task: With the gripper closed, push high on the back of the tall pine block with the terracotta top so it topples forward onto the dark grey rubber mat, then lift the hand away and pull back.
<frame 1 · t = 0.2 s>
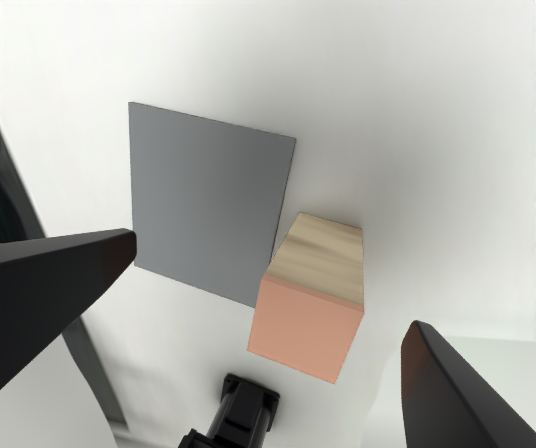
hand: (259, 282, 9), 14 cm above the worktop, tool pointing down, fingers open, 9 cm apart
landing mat: (201, 212, 25), on the worktop
pine block: (321, 247, 23), on the worktop
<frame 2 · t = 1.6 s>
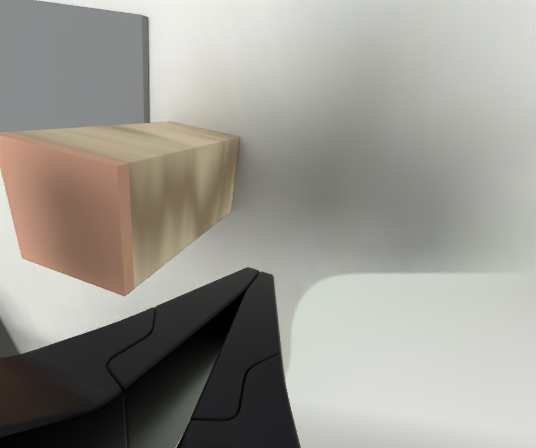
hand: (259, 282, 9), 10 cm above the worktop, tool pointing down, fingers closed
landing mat: (68, 134, 21), on the worktop
pine block: (201, 167, 19), on the worktop
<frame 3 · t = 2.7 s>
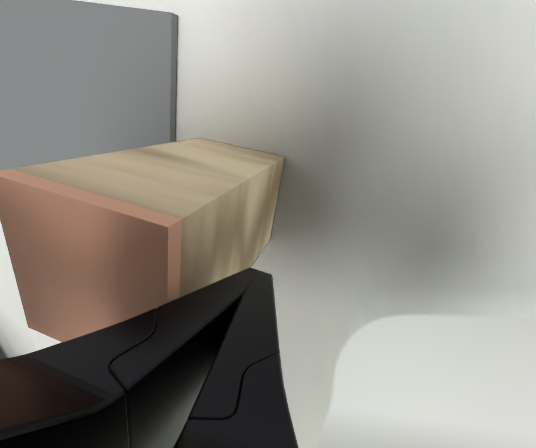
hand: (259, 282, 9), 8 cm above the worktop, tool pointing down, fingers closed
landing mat: (79, 151, 18), on the worktop
pine block: (235, 190, 16), on the worktop, touching gripper
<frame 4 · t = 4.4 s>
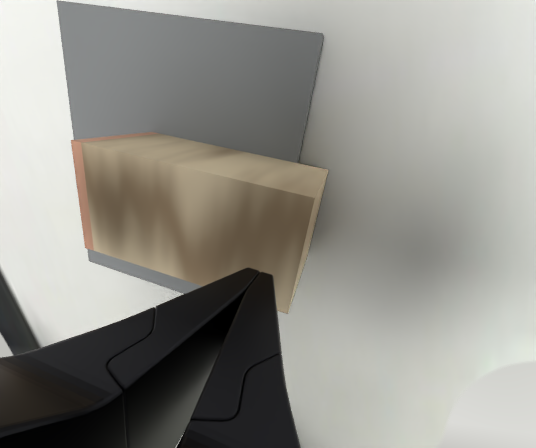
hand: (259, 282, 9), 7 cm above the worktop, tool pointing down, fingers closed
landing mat: (177, 177, 17), on the worktop
pine block: (310, 235, 13), point 3 cm above the worktop, tilted 90°, touching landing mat
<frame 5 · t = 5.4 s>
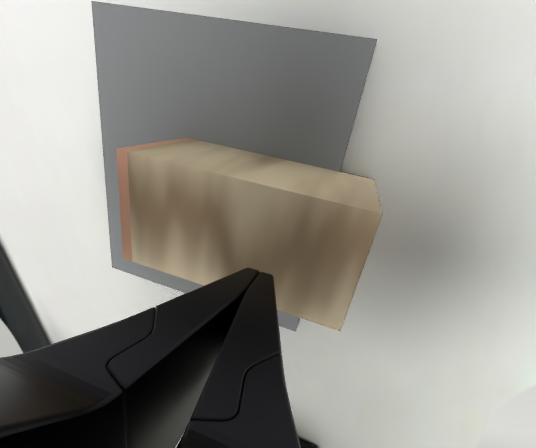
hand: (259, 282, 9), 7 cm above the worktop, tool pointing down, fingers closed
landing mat: (210, 184, 16), on the worktop
pine block: (358, 247, 12), point 3 cm above the worktop, tilted 90°, touching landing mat
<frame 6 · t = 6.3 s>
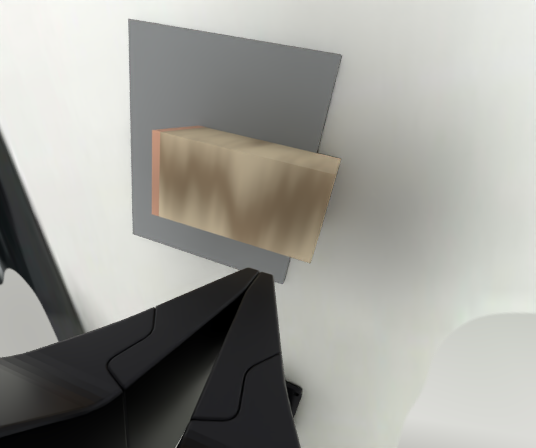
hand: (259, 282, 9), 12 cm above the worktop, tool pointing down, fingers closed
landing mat: (216, 163, 21), on the worktop
pine block: (326, 207, 17), point 3 cm above the worktop, tilted 90°, touching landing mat
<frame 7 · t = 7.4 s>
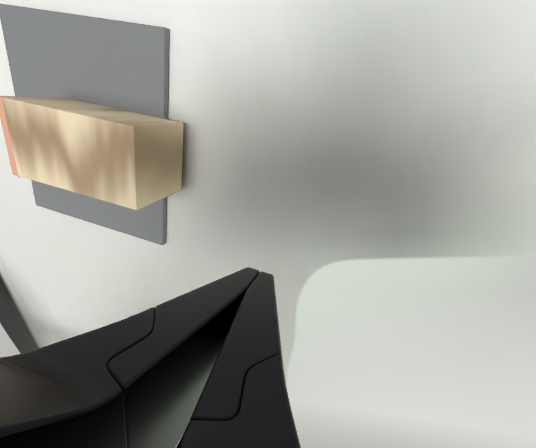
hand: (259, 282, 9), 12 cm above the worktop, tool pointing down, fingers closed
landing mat: (92, 134, 23), on the worktop
pine block: (161, 163, 19), point 3 cm above the worktop, tilted 90°, touching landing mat
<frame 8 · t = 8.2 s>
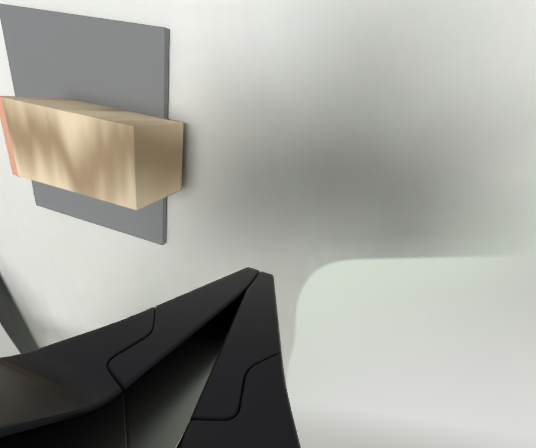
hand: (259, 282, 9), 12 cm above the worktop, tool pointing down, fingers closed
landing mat: (92, 134, 23), on the worktop
pine block: (161, 163, 19), point 3 cm above the worktop, tilted 90°, touching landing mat
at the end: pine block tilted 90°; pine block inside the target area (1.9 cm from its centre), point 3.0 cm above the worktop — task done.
